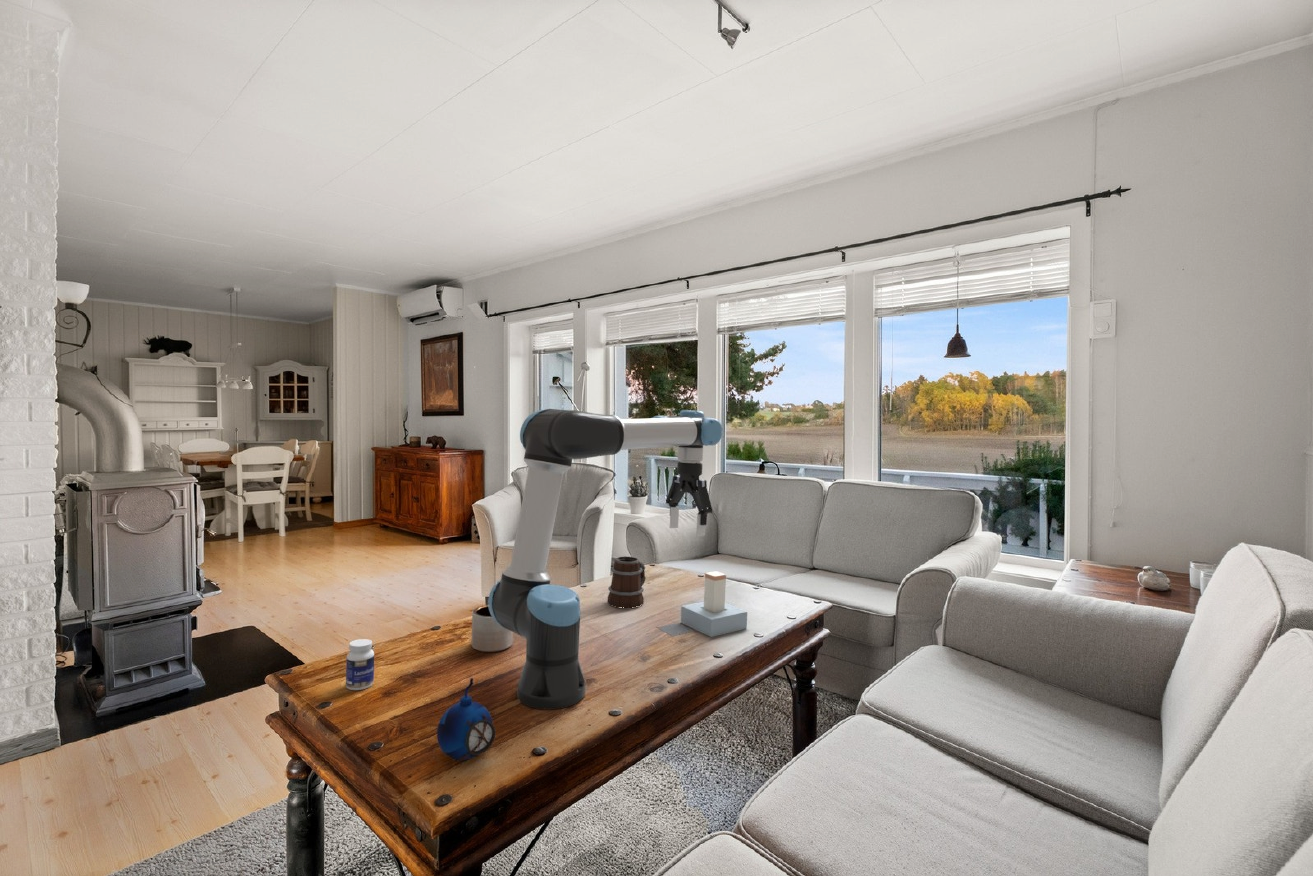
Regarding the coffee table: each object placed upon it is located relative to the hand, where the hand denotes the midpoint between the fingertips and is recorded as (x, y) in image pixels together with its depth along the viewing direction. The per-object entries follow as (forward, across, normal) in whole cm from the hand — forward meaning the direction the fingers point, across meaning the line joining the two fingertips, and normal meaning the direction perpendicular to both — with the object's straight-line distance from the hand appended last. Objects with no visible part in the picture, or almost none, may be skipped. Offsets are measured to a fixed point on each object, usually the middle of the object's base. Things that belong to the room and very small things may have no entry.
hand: (686, 531), depth 187 cm
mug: (+29, +27, +3) cm, 39 cm away
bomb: (+30, -38, +77) cm, 91 cm away
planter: (+29, +11, +55) cm, 64 cm away
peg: (+26, -7, -6) cm, 27 cm away
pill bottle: (+30, +2, +89) cm, 94 cm away
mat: (+28, -4, +6) cm, 29 cm away
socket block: (+28, -7, -6) cm, 30 cm away
